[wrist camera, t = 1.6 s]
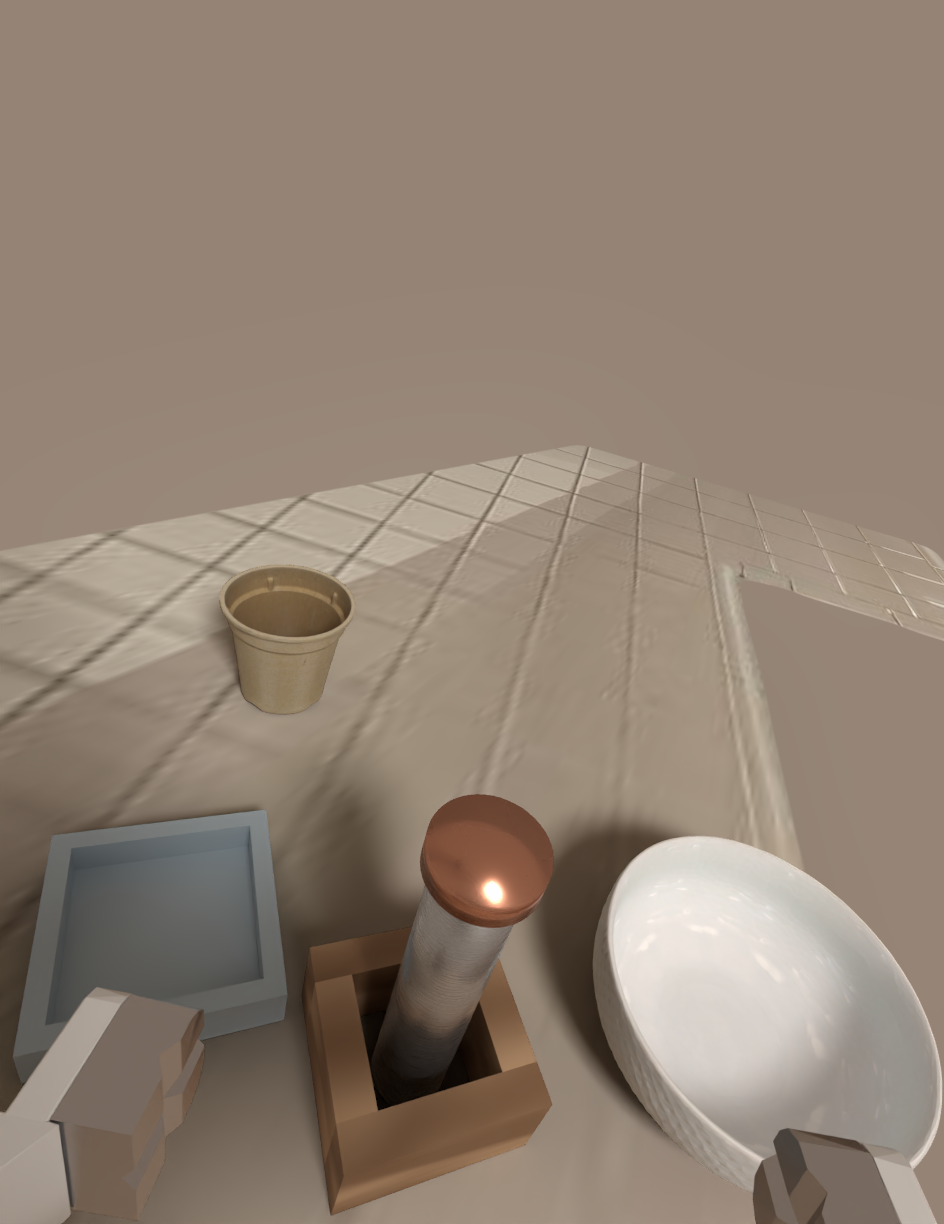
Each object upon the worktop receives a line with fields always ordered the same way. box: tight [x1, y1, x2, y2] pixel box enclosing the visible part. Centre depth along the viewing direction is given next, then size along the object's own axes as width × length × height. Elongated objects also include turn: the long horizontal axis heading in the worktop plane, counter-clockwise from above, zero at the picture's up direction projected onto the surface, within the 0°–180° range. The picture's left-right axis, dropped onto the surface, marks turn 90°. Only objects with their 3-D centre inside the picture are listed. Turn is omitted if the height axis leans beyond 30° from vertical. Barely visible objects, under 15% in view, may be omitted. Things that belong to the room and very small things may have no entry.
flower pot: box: [220, 565, 355, 714], centre depth 50 cm, size 9×9×9 cm
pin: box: [371, 794, 554, 1106], centre depth 28 cm, size 5×5×17 cm
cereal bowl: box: [593, 836, 942, 1193], centre depth 35 cm, size 17×17×7 cm
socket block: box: [302, 927, 552, 1215], centre depth 31 cm, size 9×9×4 cm
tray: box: [13, 810, 288, 1084], centre depth 34 cm, size 11×11×2 cm
